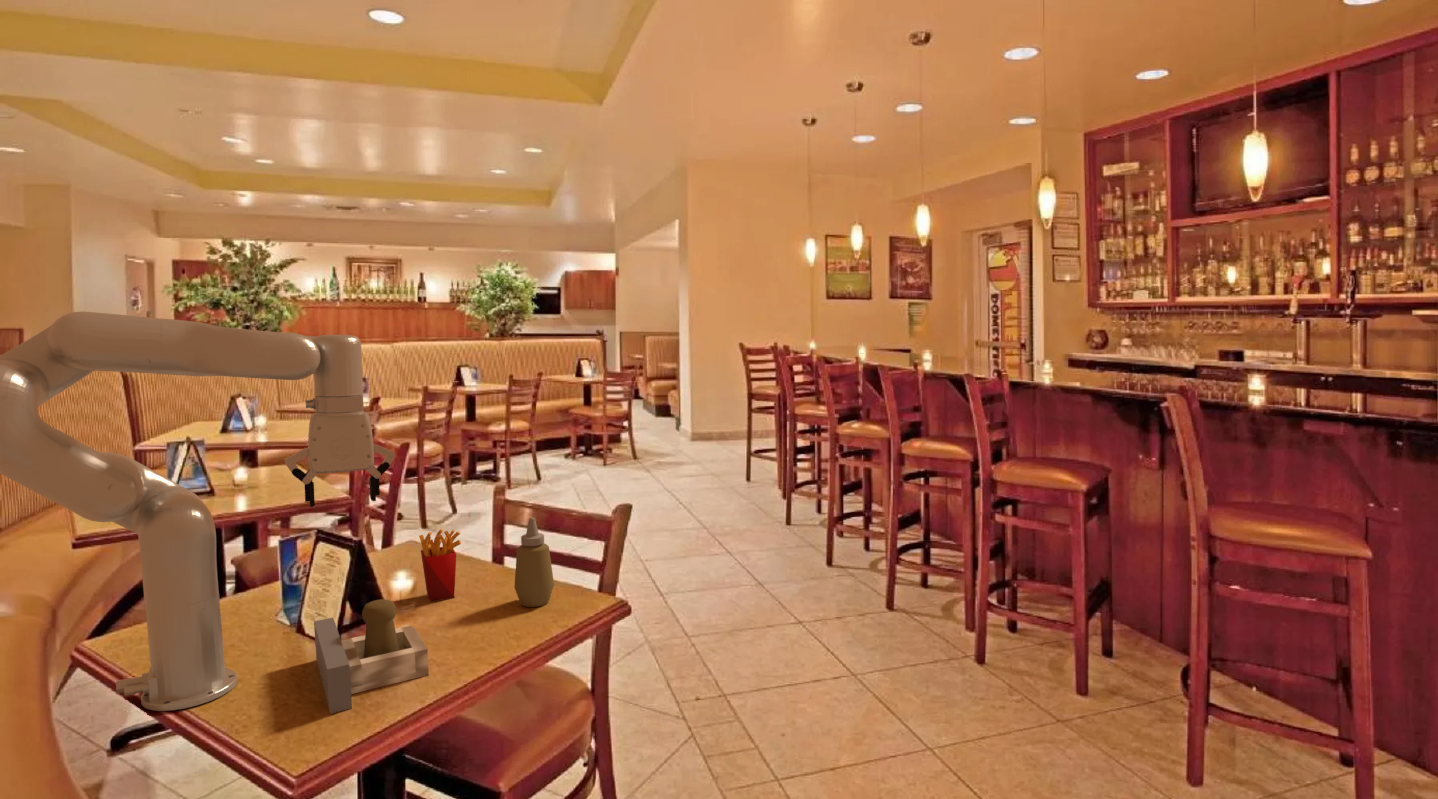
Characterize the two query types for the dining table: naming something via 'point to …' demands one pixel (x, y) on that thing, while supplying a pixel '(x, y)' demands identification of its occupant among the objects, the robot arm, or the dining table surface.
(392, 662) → the holder block
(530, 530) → the squeeze bottle
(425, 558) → the french fries
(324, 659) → the backstop wall
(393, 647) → the pepper mill
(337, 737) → the dining table surface
